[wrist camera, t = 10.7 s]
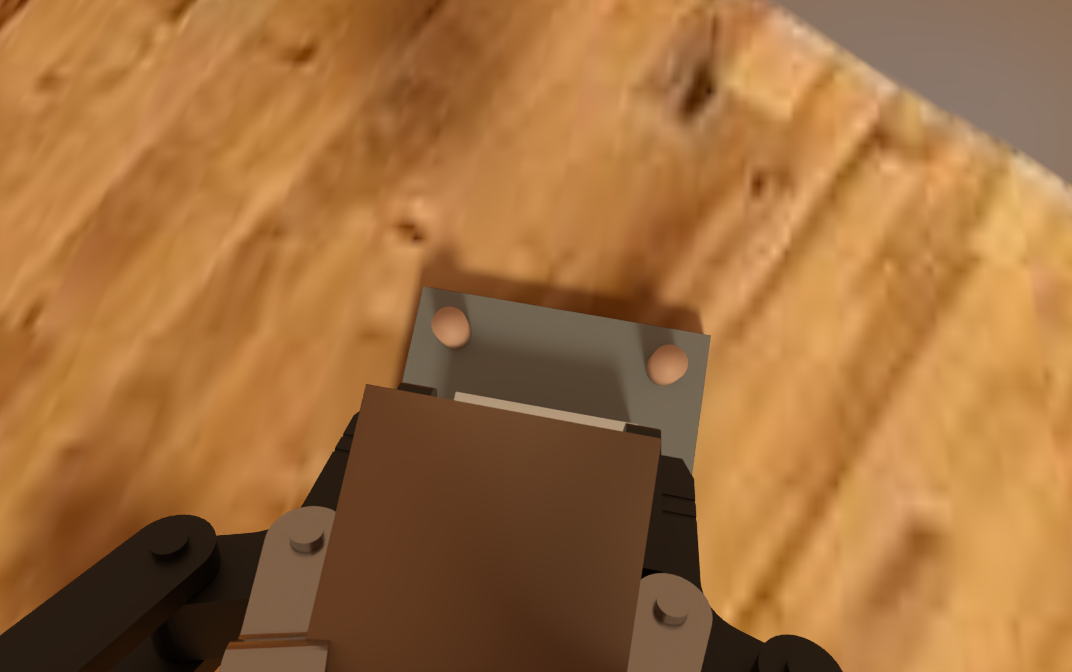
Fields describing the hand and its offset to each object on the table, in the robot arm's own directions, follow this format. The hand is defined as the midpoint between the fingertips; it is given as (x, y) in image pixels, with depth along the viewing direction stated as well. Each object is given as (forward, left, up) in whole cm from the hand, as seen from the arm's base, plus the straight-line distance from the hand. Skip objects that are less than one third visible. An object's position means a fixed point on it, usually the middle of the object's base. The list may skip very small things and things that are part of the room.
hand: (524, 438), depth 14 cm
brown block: (0, -2, -5) cm, 5 cm away
